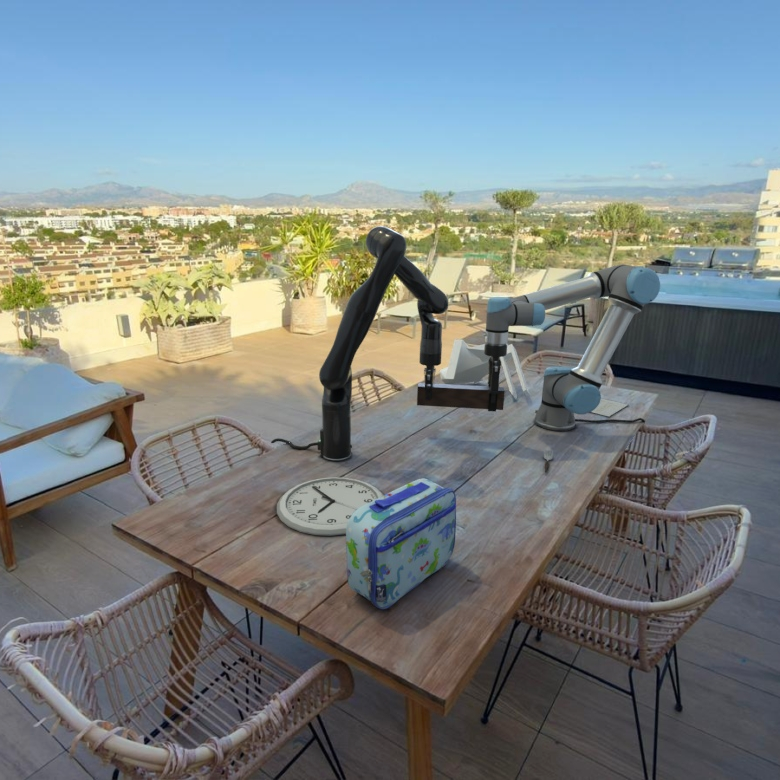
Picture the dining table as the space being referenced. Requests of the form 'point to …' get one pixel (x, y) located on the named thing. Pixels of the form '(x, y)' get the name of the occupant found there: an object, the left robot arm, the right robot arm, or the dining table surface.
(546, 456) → the fork
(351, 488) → the wall clock
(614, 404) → the invitation card
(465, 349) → the white plastic object
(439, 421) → the dining table surface
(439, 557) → the lunch box
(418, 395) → the walnut beam
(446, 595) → the dining table surface
